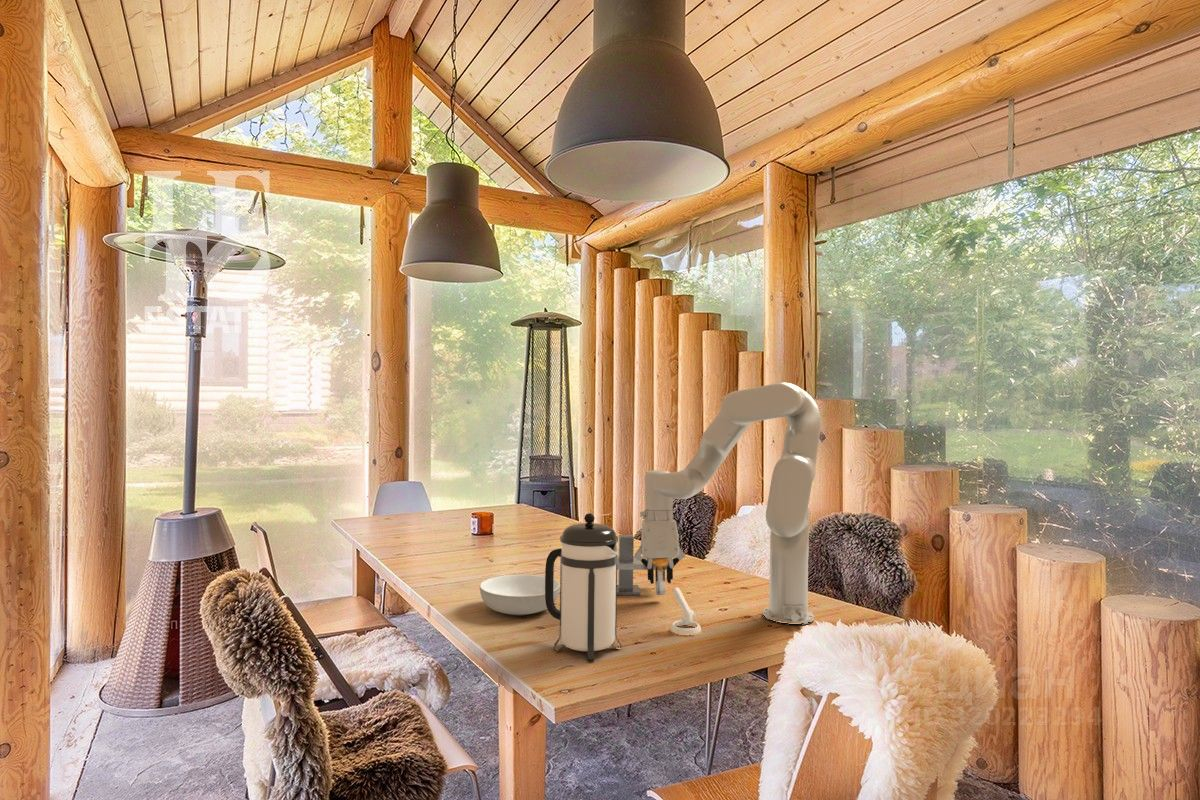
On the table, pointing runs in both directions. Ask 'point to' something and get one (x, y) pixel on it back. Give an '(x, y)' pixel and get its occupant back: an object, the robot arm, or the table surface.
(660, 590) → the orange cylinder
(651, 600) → the table surface
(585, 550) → the coffee press
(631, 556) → the grey cross bracket
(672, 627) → the white ring with handle
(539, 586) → the serving bowl
